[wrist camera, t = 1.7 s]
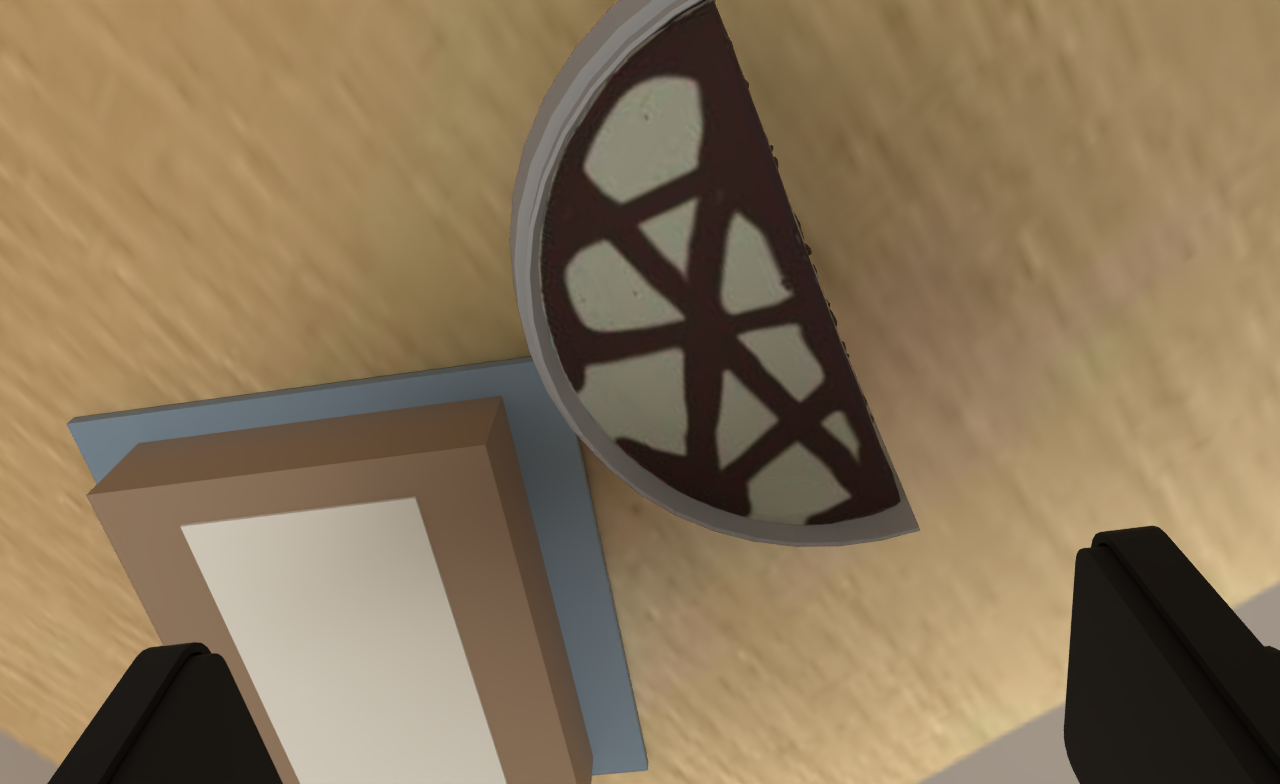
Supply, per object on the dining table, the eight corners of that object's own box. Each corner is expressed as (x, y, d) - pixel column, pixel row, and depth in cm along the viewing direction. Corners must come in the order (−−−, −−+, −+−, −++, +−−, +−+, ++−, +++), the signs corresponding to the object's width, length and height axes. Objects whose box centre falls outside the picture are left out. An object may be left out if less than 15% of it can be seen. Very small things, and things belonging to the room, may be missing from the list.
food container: (471, 41, 24) (361, 113, 15) (688, -64, 23) (705, -54, 14) (657, 419, 29) (656, 637, 20) (843, 349, 28) (928, 549, 19)
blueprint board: (560, 352, 28) (547, 406, 25) (648, 761, 36) (646, 841, 33) (74, 418, 30) (4, 476, 26) (263, 797, 38) (227, 877, 35)
